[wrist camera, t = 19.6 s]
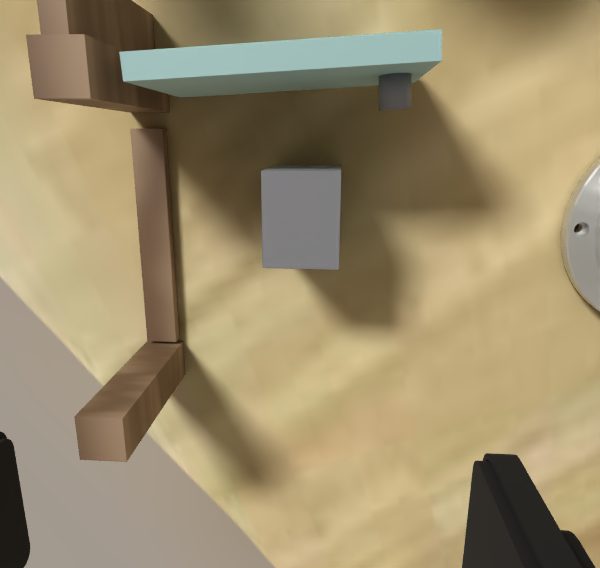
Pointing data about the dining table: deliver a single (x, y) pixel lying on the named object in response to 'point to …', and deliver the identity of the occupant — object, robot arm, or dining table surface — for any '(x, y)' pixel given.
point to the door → (291, 66)
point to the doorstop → (301, 216)
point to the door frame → (149, 198)
